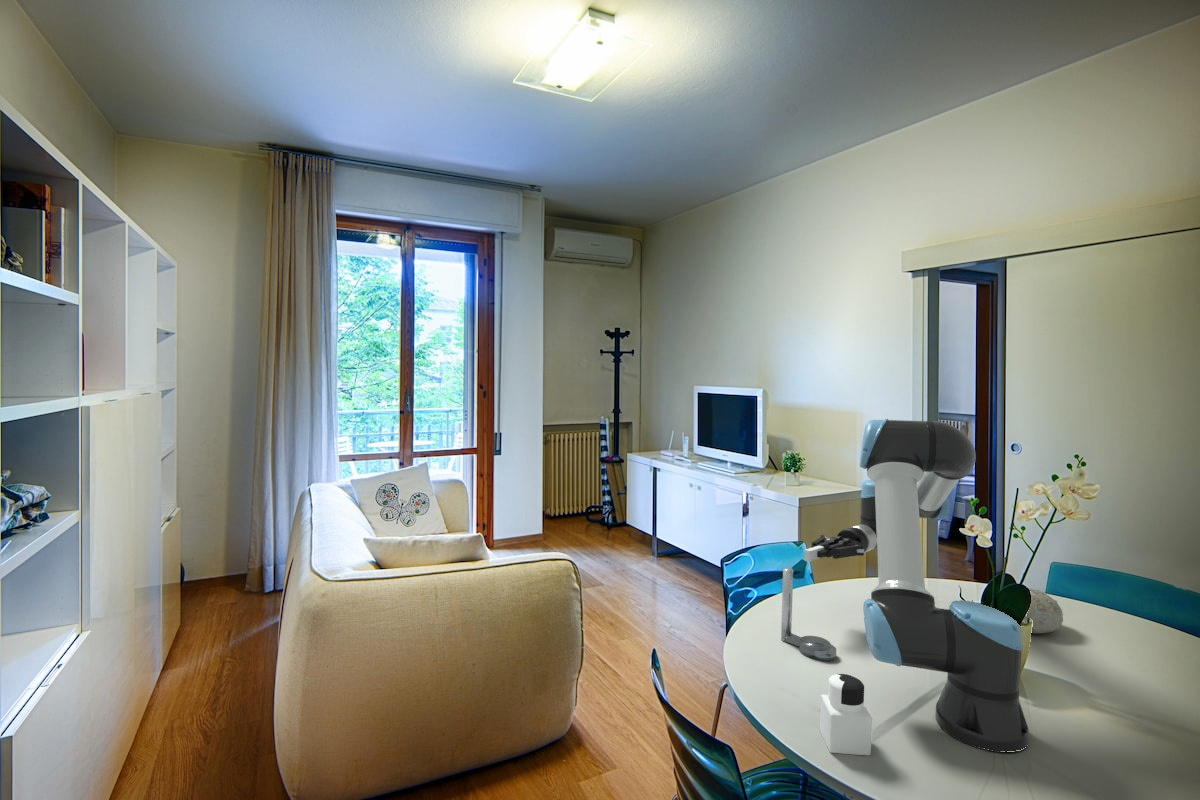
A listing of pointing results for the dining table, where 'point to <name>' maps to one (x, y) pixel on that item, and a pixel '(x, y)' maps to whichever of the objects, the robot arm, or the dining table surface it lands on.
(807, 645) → the crank handle
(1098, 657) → the dining table surface
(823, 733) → the medicine bottle
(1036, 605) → the grey rock
